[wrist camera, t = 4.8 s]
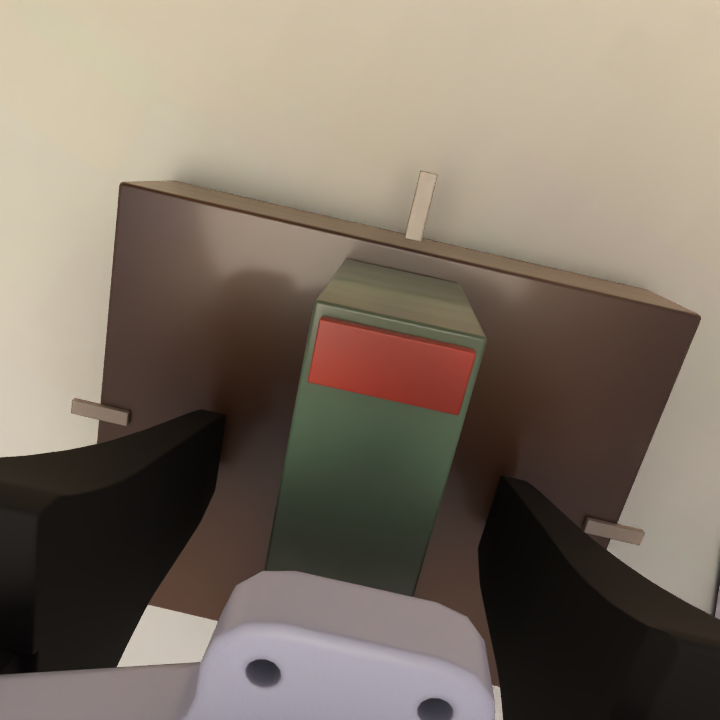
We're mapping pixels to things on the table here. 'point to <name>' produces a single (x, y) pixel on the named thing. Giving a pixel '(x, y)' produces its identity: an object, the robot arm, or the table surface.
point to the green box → (374, 426)
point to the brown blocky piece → (286, 353)
